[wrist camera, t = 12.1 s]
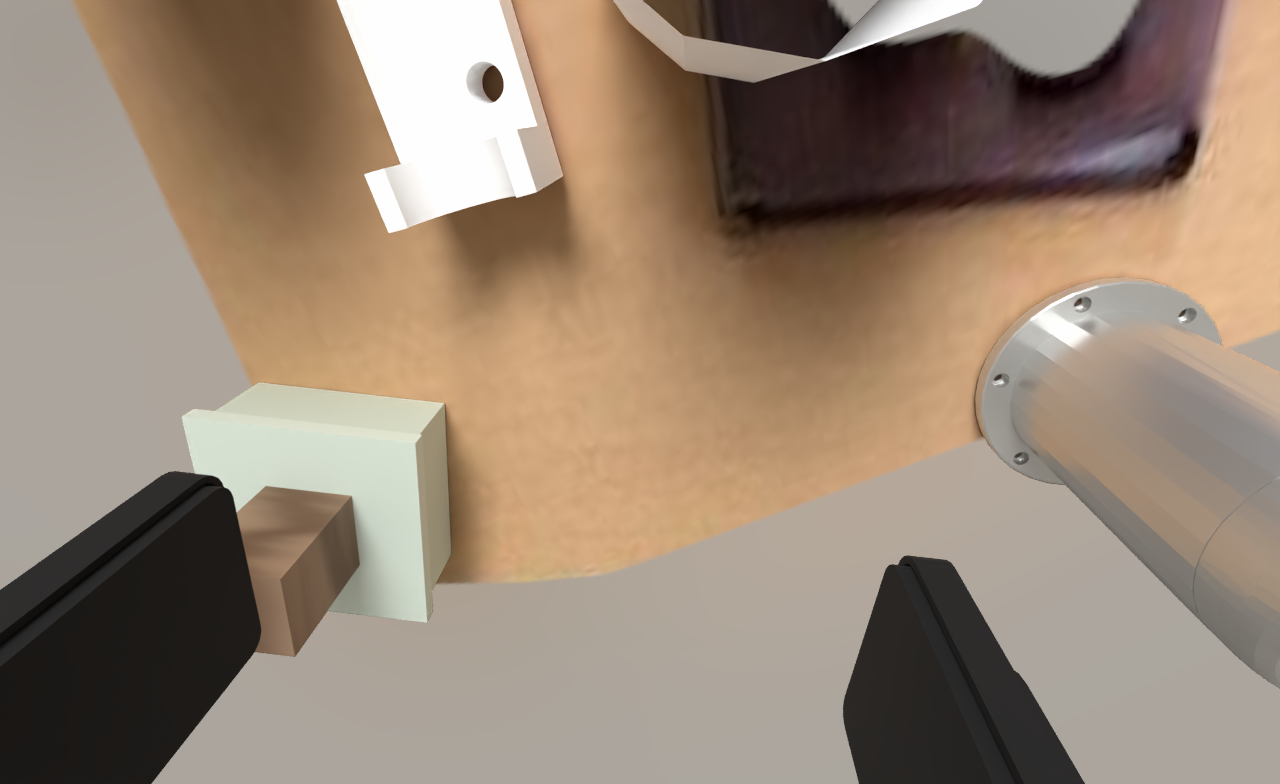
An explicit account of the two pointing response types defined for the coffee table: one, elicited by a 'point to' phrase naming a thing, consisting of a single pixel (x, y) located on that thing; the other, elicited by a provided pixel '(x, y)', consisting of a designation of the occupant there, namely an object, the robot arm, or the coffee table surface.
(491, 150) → the bracket
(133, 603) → the robot arm
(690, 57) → the container
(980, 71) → the coffee table surface
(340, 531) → the walnut block
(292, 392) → the sage box
